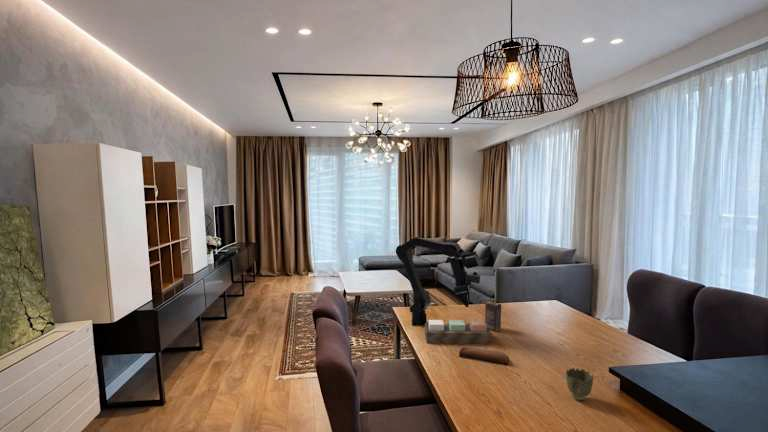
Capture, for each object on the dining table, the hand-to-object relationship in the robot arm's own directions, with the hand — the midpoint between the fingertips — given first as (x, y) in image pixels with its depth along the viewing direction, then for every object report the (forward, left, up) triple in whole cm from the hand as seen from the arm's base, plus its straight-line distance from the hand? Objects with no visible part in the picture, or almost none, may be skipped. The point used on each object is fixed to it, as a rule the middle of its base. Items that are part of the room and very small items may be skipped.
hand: (468, 304), depth 164 cm
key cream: (-15, -6, -10) cm, 19 cm away
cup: (+24, -52, -13) cm, 59 cm away
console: (-6, -6, -13) cm, 16 cm away
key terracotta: (+3, -6, -10) cm, 13 cm away
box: (+13, +6, -13) cm, 19 cm away
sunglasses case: (+2, -24, -14) cm, 28 cm away
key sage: (-6, -6, -10) cm, 13 cm away
